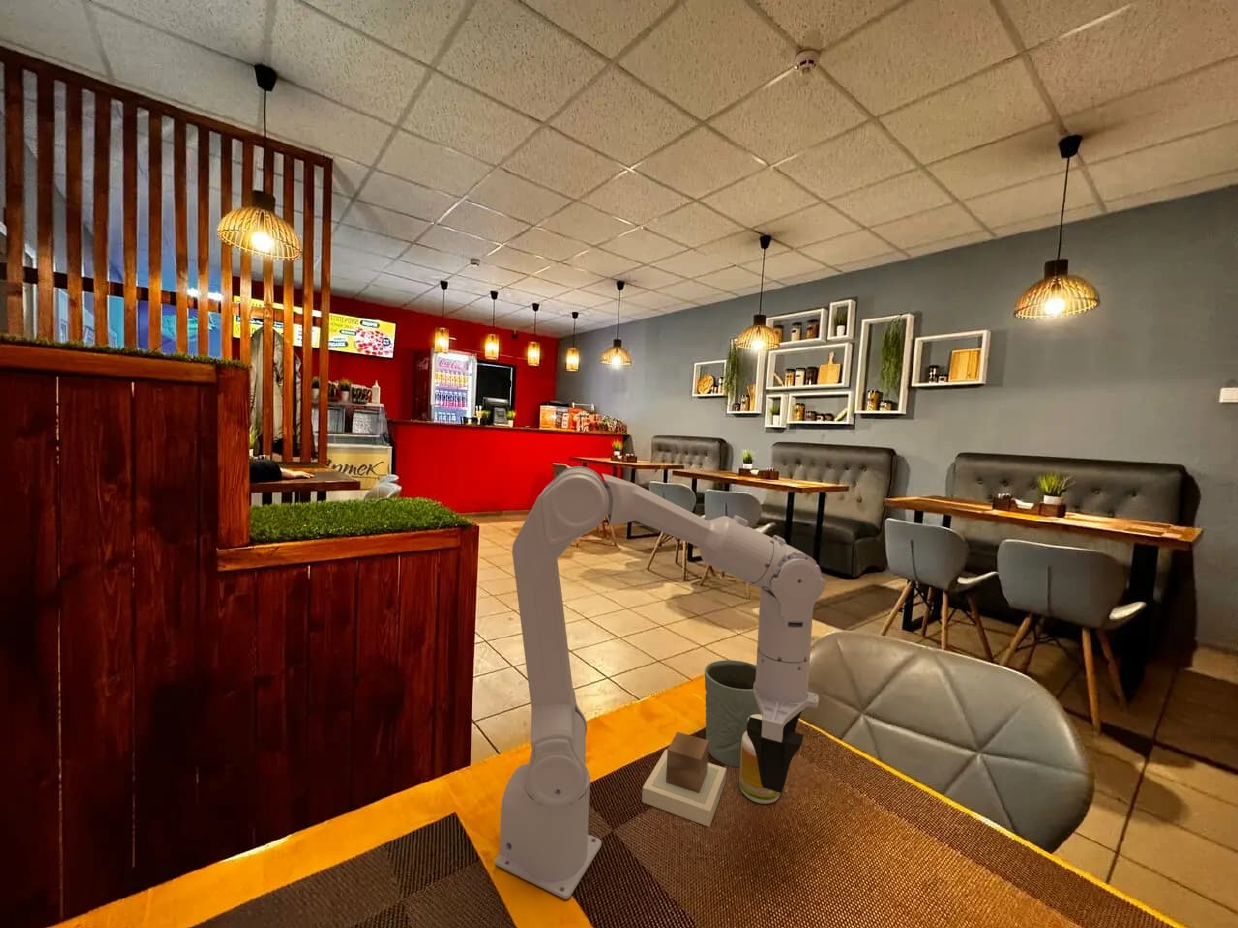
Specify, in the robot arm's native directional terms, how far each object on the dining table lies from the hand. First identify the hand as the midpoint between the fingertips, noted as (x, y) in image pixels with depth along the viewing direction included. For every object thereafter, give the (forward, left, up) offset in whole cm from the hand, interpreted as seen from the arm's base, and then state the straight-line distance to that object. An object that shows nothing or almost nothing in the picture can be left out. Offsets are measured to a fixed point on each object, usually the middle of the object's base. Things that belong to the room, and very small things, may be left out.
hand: (776, 767), depth 57 cm
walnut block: (-12, +5, -8) cm, 15 cm away
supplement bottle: (-3, +10, -11) cm, 15 cm away
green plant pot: (-8, +18, -11) cm, 22 cm away
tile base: (-12, +5, -10) cm, 17 cm away
